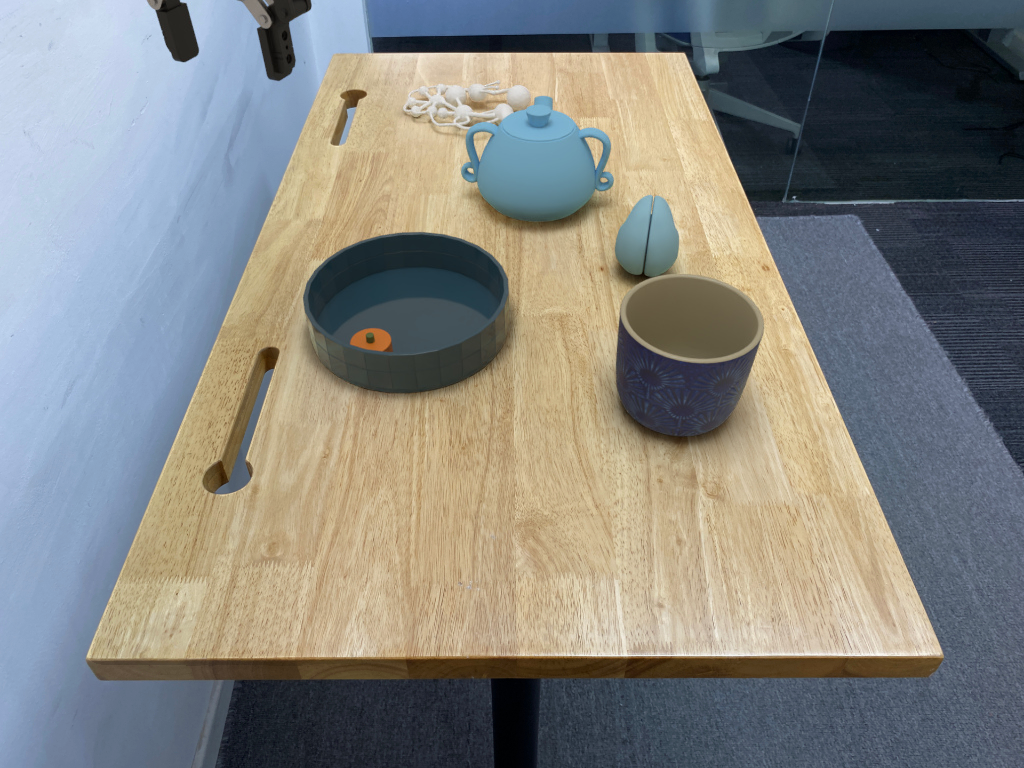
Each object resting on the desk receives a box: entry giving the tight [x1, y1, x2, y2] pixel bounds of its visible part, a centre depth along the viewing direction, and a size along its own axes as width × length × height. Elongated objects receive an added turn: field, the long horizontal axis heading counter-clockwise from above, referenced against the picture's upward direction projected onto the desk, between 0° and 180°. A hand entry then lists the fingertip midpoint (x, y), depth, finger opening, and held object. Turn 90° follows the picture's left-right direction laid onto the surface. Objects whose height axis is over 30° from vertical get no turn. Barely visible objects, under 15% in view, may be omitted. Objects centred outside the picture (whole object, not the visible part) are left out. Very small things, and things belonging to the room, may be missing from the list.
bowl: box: [302, 231, 510, 394], centre depth 81 cm, size 21×21×5 cm
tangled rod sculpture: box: [402, 79, 532, 131], centre depth 119 cm, size 19×14×4 cm
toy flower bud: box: [614, 194, 680, 278], centre depth 89 cm, size 7×9×12 cm
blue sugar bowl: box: [460, 95, 615, 223], centre depth 99 cm, size 20×20×13 cm
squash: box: [350, 328, 393, 352], centre depth 76 cm, size 4×4×4 cm
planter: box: [615, 273, 765, 437], centre depth 71 cm, size 12×12×11 cm
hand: (233, 67), depth 58 cm, fingers open, 8 cm apart
